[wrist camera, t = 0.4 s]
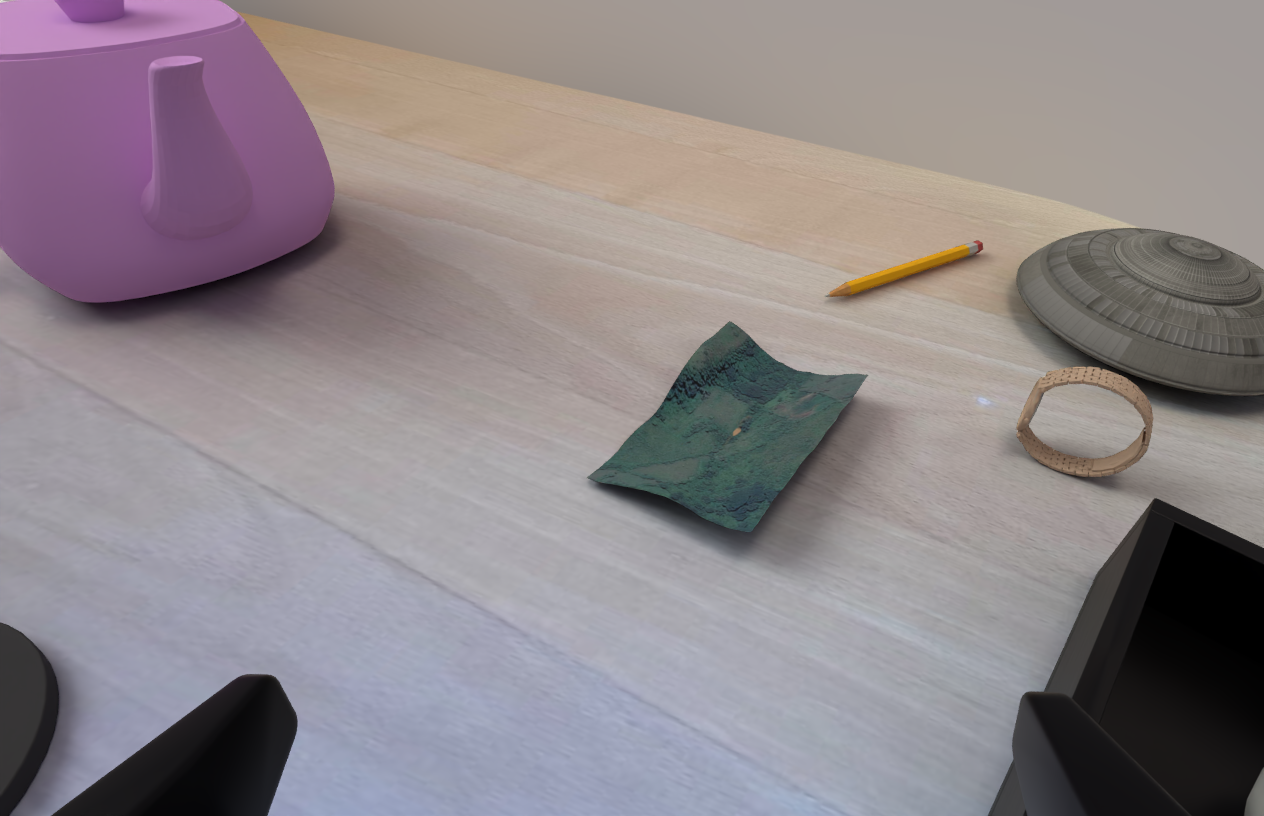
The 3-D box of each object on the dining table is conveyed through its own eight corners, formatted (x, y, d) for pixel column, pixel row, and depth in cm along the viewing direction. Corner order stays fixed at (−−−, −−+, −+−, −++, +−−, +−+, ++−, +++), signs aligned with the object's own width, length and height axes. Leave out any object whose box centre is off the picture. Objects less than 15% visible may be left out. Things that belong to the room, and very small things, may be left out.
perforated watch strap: (1012, 428, 35) (1056, 344, 32) (1121, 468, 33) (1179, 384, 30) (1000, 460, 33) (1045, 375, 30) (1114, 505, 31) (1176, 420, 28)
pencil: (981, 253, 48) (985, 244, 47) (827, 304, 42) (830, 294, 42) (971, 248, 48) (975, 238, 48) (818, 298, 43) (821, 288, 42)
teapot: (-79, 250, 43) (-279, -43, 33) (275, 164, 54) (205, -76, 44) (-9, 462, 31) (-293, 95, 21) (432, 295, 42) (383, 2, 32)
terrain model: (745, 566, 28) (750, 534, 27) (584, 484, 31) (582, 452, 30) (864, 396, 36) (872, 365, 35) (726, 345, 40) (729, 316, 38)
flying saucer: (1141, 252, 49) (1185, 173, 45) (1367, 389, 38) (1448, 301, 35) (955, 279, 45) (987, 197, 42) (1148, 440, 35) (1214, 348, 31)
